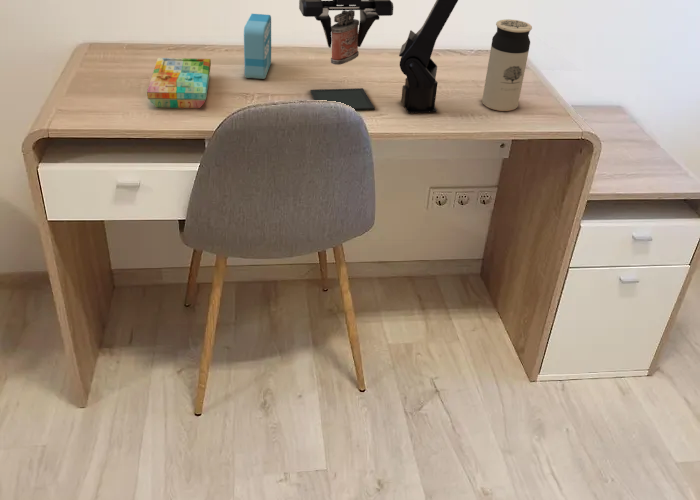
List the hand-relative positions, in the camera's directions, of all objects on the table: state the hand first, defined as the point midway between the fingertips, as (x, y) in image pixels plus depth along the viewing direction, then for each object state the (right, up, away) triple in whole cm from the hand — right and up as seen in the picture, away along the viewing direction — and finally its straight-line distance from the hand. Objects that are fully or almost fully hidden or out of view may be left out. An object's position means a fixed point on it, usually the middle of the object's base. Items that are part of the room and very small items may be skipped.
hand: (344, 46), depth 158 cm
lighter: (0, -2, +2) cm, 3 cm away
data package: (-20, -1, +17) cm, 27 cm away
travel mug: (+35, -11, +9) cm, 37 cm away
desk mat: (0, -10, +5) cm, 12 cm away
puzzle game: (-35, -9, +5) cm, 37 cm away
